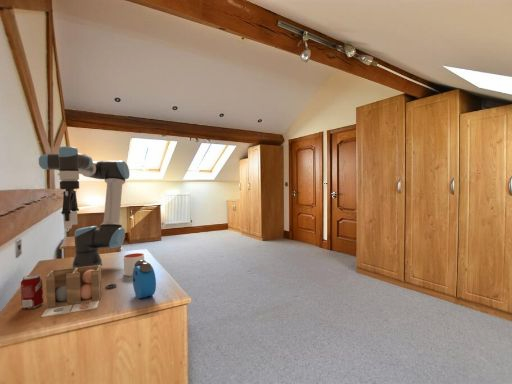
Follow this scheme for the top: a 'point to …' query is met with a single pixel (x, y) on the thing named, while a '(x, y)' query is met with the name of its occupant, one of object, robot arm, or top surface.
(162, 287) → the top surface
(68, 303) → the box
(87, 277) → the terra ball
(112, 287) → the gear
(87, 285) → the terracotta ball
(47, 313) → the card
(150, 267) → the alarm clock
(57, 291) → the ball grey
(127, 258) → the cup
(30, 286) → the soda can
